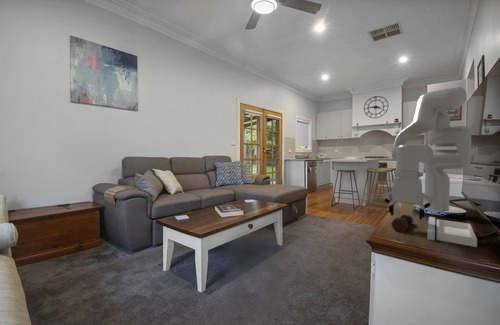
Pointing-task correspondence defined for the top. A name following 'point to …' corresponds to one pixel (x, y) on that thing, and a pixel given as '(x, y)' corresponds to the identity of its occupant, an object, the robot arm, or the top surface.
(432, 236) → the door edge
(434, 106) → the robot arm
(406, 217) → the dark brown dumbbell
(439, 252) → the top surface
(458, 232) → the tray
